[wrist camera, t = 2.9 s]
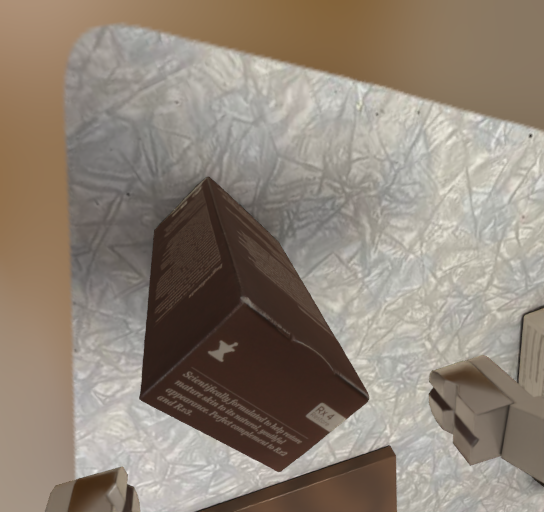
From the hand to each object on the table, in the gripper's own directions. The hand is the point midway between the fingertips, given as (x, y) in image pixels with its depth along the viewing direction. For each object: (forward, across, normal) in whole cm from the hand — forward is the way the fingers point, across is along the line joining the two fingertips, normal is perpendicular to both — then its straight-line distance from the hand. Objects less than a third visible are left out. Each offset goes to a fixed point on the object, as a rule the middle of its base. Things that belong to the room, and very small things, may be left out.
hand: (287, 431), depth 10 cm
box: (+14, 0, 0) cm, 14 cm away
